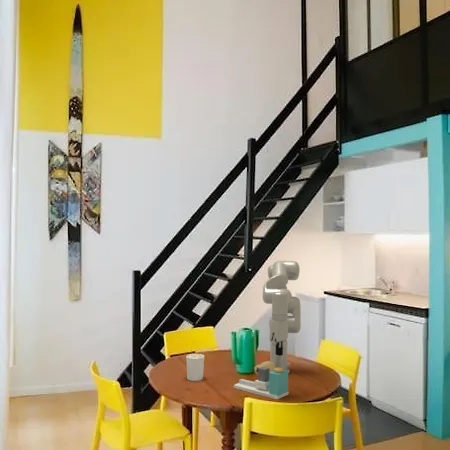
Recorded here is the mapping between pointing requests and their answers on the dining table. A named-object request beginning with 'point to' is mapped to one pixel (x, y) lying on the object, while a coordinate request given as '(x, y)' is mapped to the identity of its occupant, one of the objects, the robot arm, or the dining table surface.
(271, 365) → the toy pig
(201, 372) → the candle holder
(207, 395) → the dining table surface
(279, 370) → the gauge plunger
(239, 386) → the rail board
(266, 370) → the carriage
